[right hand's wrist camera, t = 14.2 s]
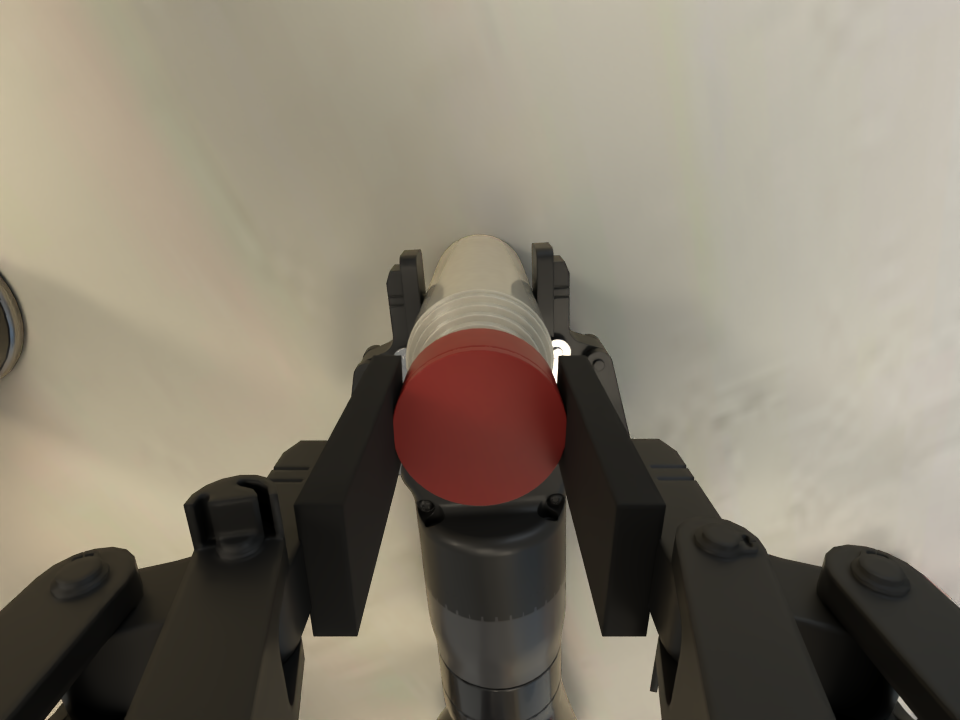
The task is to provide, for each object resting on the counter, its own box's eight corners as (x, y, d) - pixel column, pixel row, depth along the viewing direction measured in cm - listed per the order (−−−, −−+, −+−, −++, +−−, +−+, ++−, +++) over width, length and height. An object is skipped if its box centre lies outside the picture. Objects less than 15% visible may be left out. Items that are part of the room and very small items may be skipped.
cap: (586, 366, 14) (600, 394, 12) (514, 489, 16) (518, 528, 14) (439, 300, 14) (433, 320, 12) (378, 434, 15) (365, 469, 13)
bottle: (539, 258, 29) (613, 382, 13) (500, 335, 30) (522, 530, 14) (457, 218, 28) (428, 299, 12) (421, 300, 29) (354, 465, 14)
